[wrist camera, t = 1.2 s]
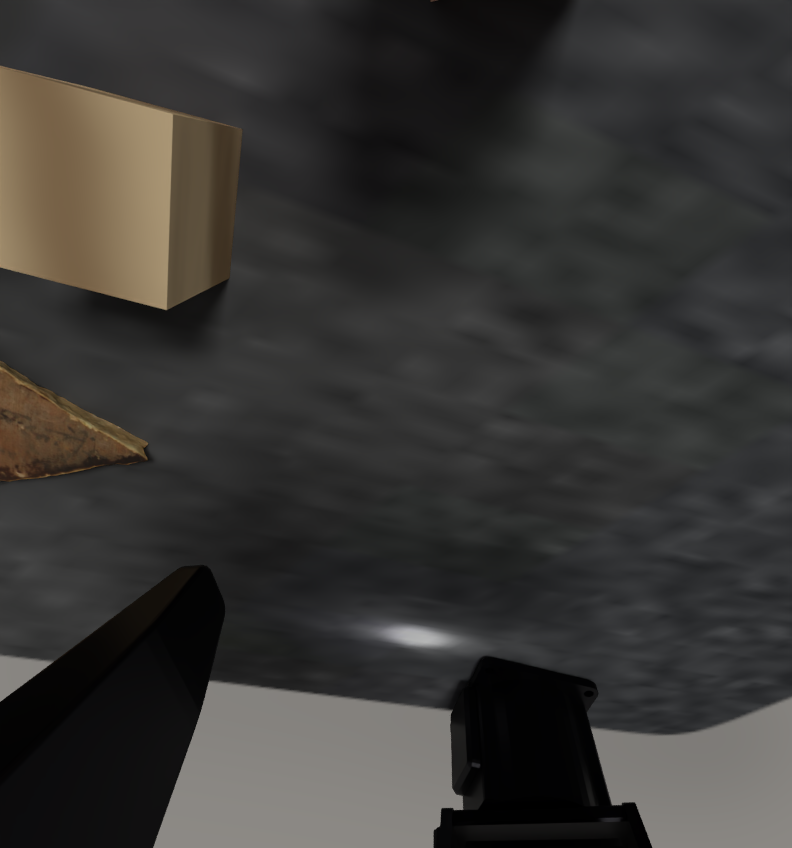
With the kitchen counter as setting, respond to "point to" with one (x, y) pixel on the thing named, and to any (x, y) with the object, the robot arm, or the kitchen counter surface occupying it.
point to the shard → (54, 433)
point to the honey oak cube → (114, 191)
